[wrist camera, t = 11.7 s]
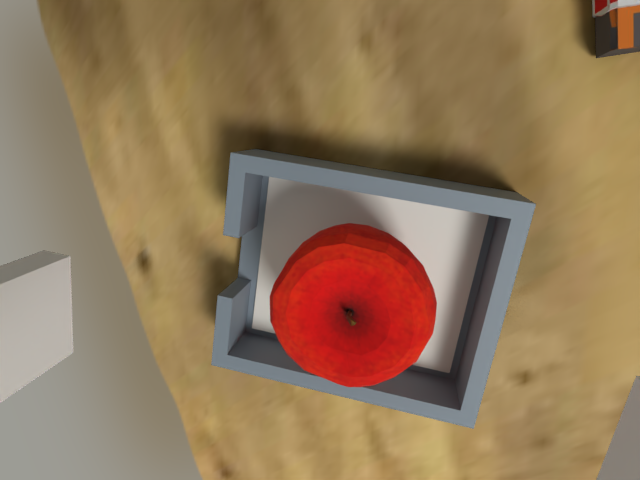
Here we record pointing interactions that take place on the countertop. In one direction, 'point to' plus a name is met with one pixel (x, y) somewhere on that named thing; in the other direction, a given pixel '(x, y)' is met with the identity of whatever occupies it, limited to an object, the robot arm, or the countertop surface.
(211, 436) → the countertop surface
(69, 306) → the robot arm
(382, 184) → the grey tray
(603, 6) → the electronic device
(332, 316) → the apple
